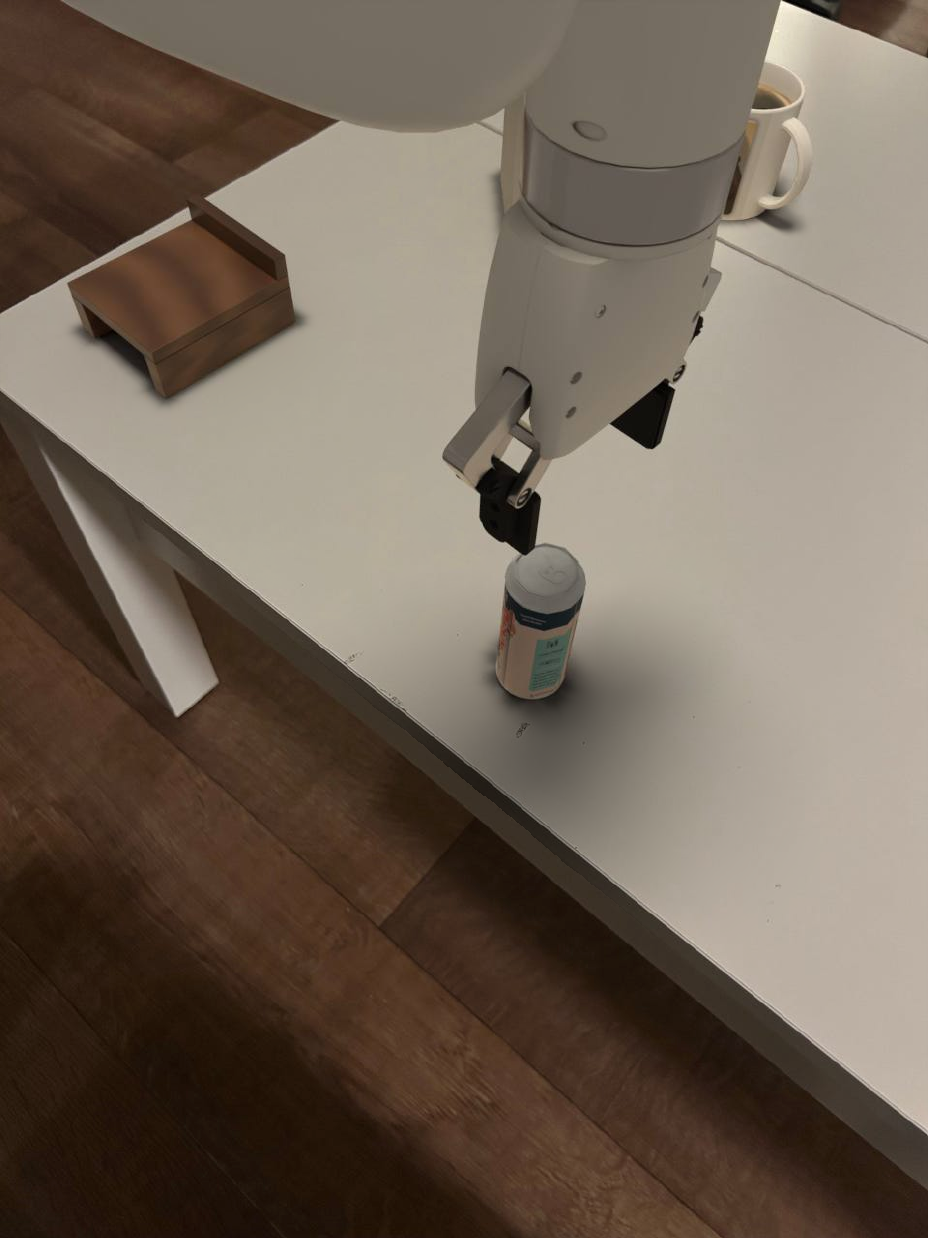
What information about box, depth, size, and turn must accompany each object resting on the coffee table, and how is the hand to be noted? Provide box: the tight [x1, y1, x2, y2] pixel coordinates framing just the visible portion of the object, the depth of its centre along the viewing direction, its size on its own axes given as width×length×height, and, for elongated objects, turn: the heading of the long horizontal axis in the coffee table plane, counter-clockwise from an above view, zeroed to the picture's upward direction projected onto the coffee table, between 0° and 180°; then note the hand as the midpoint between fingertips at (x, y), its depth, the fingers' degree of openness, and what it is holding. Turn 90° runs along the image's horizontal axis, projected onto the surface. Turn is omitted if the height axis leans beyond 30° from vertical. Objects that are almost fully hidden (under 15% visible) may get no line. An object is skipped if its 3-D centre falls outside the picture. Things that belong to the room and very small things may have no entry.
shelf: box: [66, 193, 296, 400], centre depth 80 cm, size 14×12×7 cm
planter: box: [499, 92, 525, 214], centre depth 84 cm, size 16×8×19 cm, turn 3°
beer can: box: [495, 542, 587, 700], centre depth 59 cm, size 5×5×12 cm
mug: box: [721, 59, 813, 222], centre depth 91 cm, size 10×12×11 cm
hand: (572, 482), depth 47 cm, fingers open, 9 cm apart
